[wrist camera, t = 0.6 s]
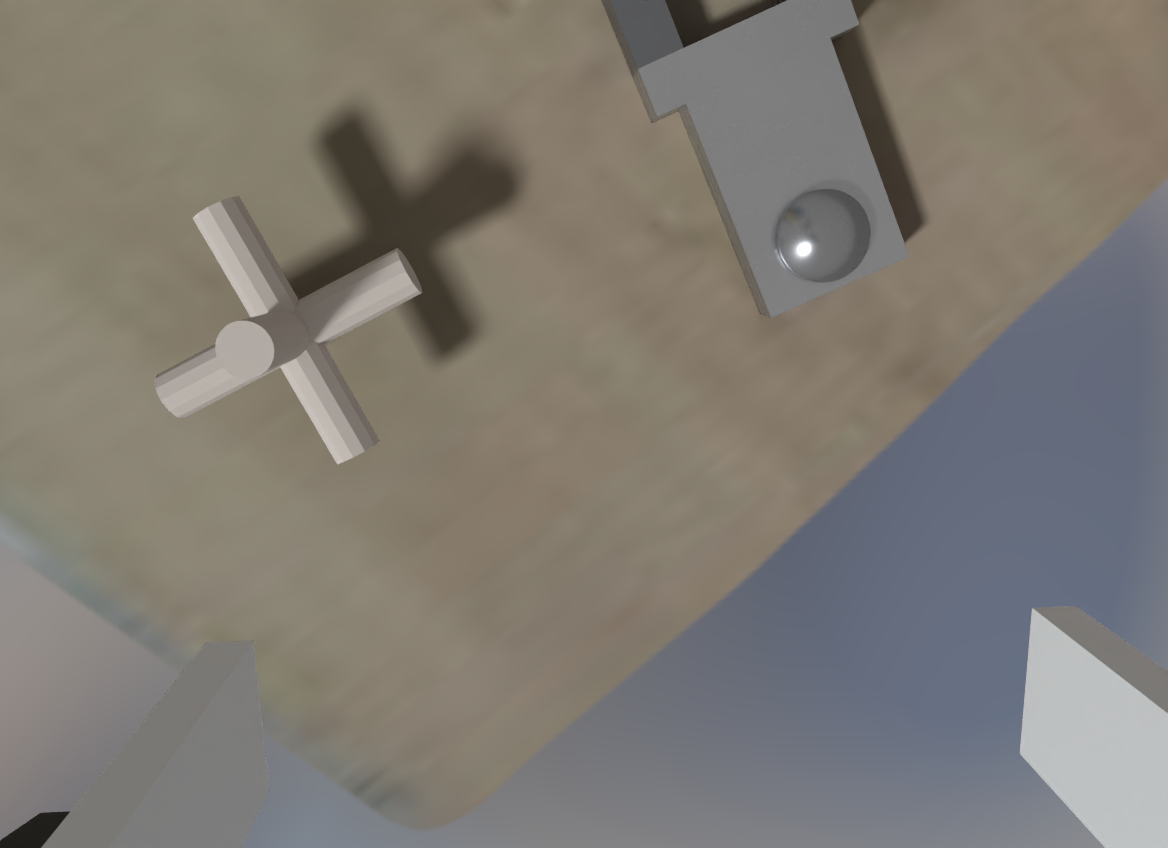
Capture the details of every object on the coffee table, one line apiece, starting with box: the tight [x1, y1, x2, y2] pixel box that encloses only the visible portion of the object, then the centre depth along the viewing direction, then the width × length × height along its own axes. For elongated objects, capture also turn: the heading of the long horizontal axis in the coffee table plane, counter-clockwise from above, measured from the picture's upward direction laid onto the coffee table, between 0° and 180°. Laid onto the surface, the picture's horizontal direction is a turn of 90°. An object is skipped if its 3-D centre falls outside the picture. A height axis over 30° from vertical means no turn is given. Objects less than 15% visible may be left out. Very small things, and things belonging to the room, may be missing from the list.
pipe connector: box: [154, 196, 422, 464], centre depth 34 cm, size 10×10×10 cm
